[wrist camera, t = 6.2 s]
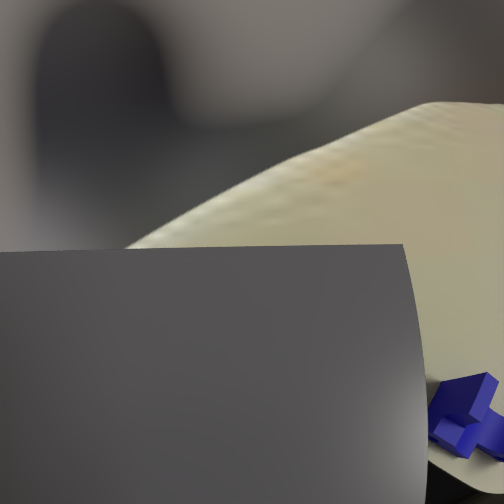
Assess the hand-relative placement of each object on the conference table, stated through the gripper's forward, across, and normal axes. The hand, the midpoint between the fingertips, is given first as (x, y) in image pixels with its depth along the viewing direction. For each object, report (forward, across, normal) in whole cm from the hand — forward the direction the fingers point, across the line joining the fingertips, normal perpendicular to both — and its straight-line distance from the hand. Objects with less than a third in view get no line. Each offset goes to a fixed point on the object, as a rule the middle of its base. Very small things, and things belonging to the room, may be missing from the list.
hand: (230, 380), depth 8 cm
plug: (+4, 0, +6) cm, 7 cm away
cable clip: (+5, -18, +14) cm, 24 cm away
